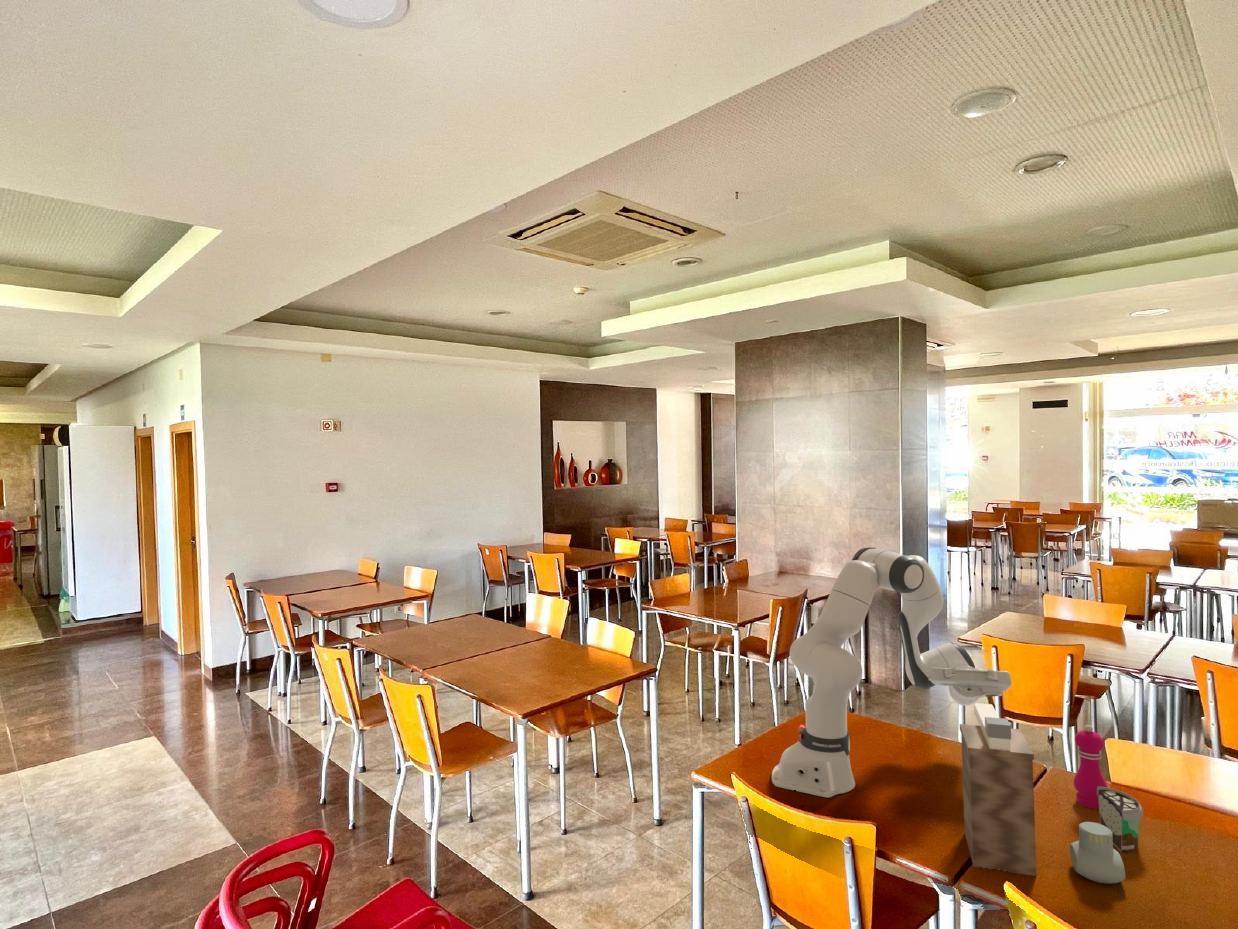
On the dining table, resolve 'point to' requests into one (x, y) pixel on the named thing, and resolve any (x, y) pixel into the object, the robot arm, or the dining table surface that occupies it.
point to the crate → (999, 802)
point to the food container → (1120, 817)
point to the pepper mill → (1089, 768)
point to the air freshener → (1096, 854)
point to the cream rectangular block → (993, 727)
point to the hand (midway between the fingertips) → (971, 671)
